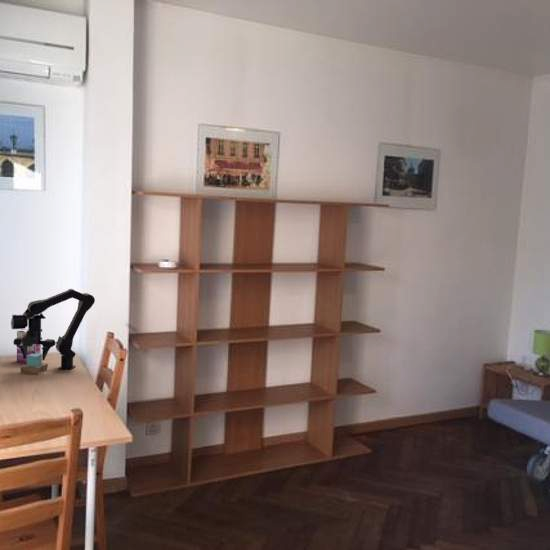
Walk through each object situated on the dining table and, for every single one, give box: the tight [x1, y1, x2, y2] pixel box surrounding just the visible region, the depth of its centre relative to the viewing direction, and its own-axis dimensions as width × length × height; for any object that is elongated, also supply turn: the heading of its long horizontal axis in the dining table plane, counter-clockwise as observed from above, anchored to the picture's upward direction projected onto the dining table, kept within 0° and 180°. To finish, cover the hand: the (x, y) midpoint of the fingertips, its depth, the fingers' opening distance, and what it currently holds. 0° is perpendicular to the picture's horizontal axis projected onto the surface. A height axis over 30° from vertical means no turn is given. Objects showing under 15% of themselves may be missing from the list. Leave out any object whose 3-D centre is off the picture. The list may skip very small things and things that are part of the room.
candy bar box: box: [16, 328, 42, 364], centre depth 308 cm, size 11×5×16 cm, turn 73°
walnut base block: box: [20, 362, 49, 375], centre depth 293 cm, size 9×9×3 cm
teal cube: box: [26, 353, 43, 367], centre depth 292 cm, size 5×5×5 cm
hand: (34, 359), depth 292 cm, fingers open, 9 cm apart
